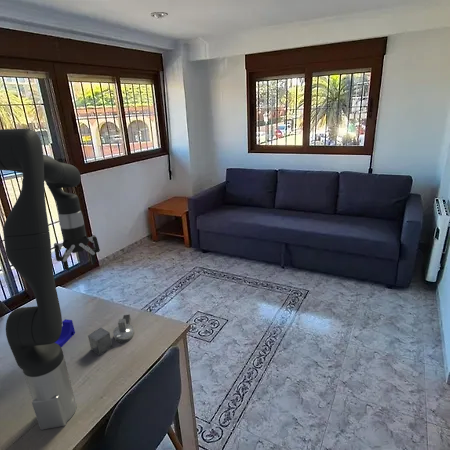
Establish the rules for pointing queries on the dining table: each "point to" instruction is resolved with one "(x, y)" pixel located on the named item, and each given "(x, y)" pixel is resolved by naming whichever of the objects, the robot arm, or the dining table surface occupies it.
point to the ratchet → (123, 330)
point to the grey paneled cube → (100, 341)
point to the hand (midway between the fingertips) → (80, 266)
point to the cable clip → (66, 332)
